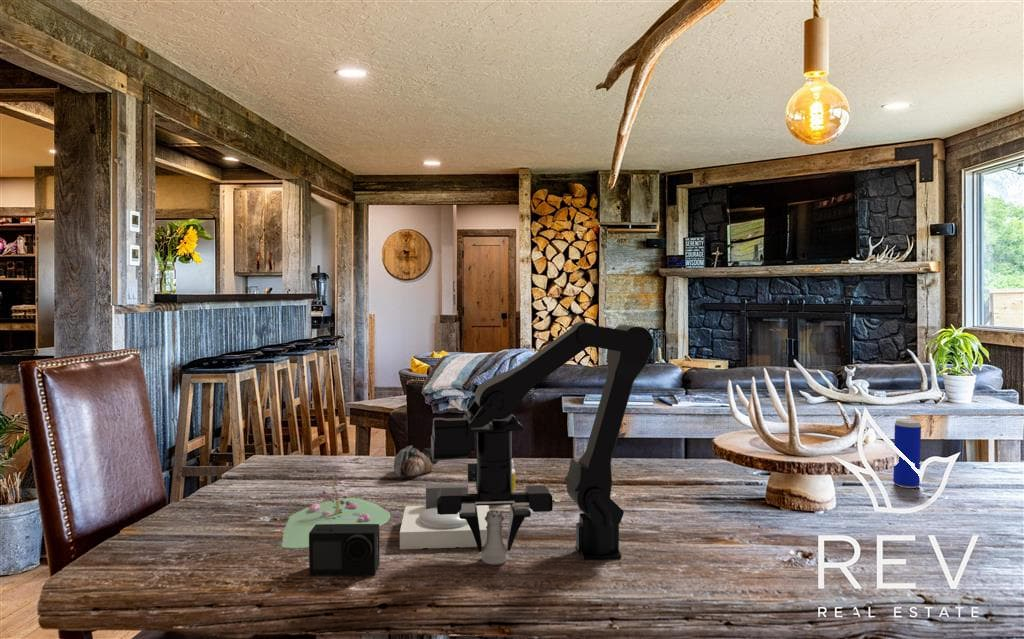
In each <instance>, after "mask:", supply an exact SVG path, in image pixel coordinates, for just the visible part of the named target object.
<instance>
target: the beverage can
mask: <svg viewBox="0 0 1024 639" xmlns="http://www.w3.org/2000/svg"><path fill="white" fill-rule="evenodd" d="M921 438H922V424H921V422H920V421H919V420H915V419H909V418H897V419H896V420H895V422H894V439H893V440H894V441H893V442H894V444H893V445H895V446H896V447H897V448H898V449H899V450H900V451H901V452H902V453H903V454H904V455H905V456H906V457H907V458H908V459H909V460H910V461H911V462H913V463H915V467H916V468H917V469H920V470H921V444H922V442H921V440H922V439H921ZM919 463H920V464H919ZM892 474H893V475H892V476H893V478H892V479H893V484H894V485H895V484H896V485H898V486H902V487H908V488H916V487H917V488H919V486H920V479H921V477H920V478H919V476H918V474H917V473H916V472H915V471H914V470H913V469H912V468H911V466H910V465H909V464H908V463H907V462H906V461H905V460H903V459H902V458H901V457H899V463H898V464H897V465H896V466H894V465H893V473H892ZM896 485H895V486H896ZM898 486H897V487H898ZM917 488H916V489H917Z"/></svg>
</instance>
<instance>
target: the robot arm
mask: <svg viewBox="0 0 1024 639" xmlns="http://www.w3.org/2000/svg"><path fill="white" fill-rule="evenodd" d="M654 345H655V340H654V338H653V335H652V334H651V332H650V331H649V330H648V329H646V328H644V327H643V326H636V325H629V324H621V325H618V326H616V327H614V328H612V327H606V326H600V325H595V324H593V323H591V322H586V321H577V322H575V323H573V324H572V325H571V326H570V328H569V329H567V330H566V331H565V332H563V333H562V334H560V335H559V336H558V337H556V338H555V339H554V340H552V341H551V342H549V343H548V344H547V345H545V346H544V347H542V348H541V349H540V350H538V351H537V352H536V353H534V354H533V355H531V356H530V357H529V358H527V359H526V360H525V361H523V362H522V363H520V364H519V365H518V366H516V367H514V368H511V369H509V370H507V371H504V372H500V373H498V374H497V375H495V376H492V377H491V378H488V379H486V380H484V381H482V382H481V383H480V384H479V385H478V386H477V388H476V389H475V394H474V400H473V402H472V403H471V405H470V406H469V407H468V409H467V410H466V412H465V413H464V414H463V417H456V418H455V417H454V418H453V417H452V418H451V417H450V418H445V417H434V418H432V434H431V435H430V448H431V452H432V460H433V461H438V460H439V461H453V460H454V461H456V460H459V461H460V460H468V458H469V457H470V456H472V453H474V452H475V443H476V463H467V484H468V483H470V484H471V483H475V488H476V489H475V490H476V493H468V494H461V488H441V489H440V490H439V491H438V496H437V514H440V515H445V514H457V513H458V512H459V518H460V519H466V521H467V523H468V525H469V527H470V528H471V530H472V533H473V535H474V538H475V541H476V544H477V547H476V548H477V549H478V552H479V553H481V552H482V549H483V547H482V543H481V535H480V528H479V521H478V513H477V506H479V505H489V506H507V505H510V506H509V518H508V527H507V528H508V529H507V538H506V549H507V552H510V551H511V549H512V548H513V544H514V541H515V539H516V537H517V534H518V531H519V529H520V528H521V526H522V524H523V522H524V520H525V519H526V518H530V517H531V515H532V513H531V511H532V512H534V513H542V512H543V513H545V512H547V513H548V512H549V513H550V512H552V511H554V510H553V508H554V506H553V502H554V500H553V495H552V493H551V490H550V488H548V486H547V485H545V484H543V485H525V488H524V490H525V492H520V491H519V492H515V493H512V460H513V459H512V456H513V454H512V450H513V449H512V445H513V444H512V439H513V435H512V434H513V432H520V431H521V432H522V431H524V430H525V427H524V426H523V424H521V422H519V421H518V420H517V418H516V416H515V414H512V412H513V411H514V410H515V409H516V408H517V407H518V406H520V404H521V403H522V402H523V401H524V399H525V398H526V396H527V395H528V394H529V392H530V391H531V390H532V389H533V388H535V386H536V385H537V384H539V383H540V382H542V381H544V380H545V379H546V378H547V377H548V376H550V375H552V374H553V373H554V372H556V371H557V370H559V369H560V368H561V367H562V366H564V365H565V364H566V363H568V362H569V361H571V360H572V359H573V358H575V357H576V356H577V355H579V354H580V353H581V352H583V351H585V349H587V348H589V347H594V348H598V349H599V348H600V349H603V350H607V351H606V361H607V362H606V363H607V375H606V379H605V381H604V386H603V389H602V393H601V395H600V396H601V397H600V400H599V403H598V407H597V409H596V410H597V411H596V415H595V416H594V420H593V421H594V422H593V424H592V429H591V431H590V433H589V434H590V436H589V438H588V442H587V445H586V449H585V451H584V453H583V455H582V456H581V457H580V458H579V460H577V459H574V458H571V459H570V461H569V468H568V472H567V475H566V476H565V477H564V478H563V479H564V482H566V492H567V495H568V496H569V498H570V499H571V500H572V501H573V502H574V503H575V505H577V507H578V509H579V510H580V511H581V513H579V521H578V522H576V524H575V546H576V548H577V550H578V552H580V554H581V556H582V558H583V559H585V560H589V559H590V560H594V559H619V558H622V555H623V554H622V553H621V551H620V524H621V522H622V519H623V517H624V514H625V512H624V510H623V509H622V508H621V507H620V506H619V505H618V504H617V503H616V502H615V501H614V500H613V499H612V498H611V493H612V485H613V474H612V458H613V455H614V452H615V448H616V446H617V442H618V438H619V434H620V431H621V427H622V424H623V421H624V417H625V413H626V411H627V406H628V403H629V399H630V397H631V392H632V389H633V386H634V383H635V380H636V379H637V377H639V375H640V374H641V372H642V371H643V370H644V369H645V367H646V366H647V363H648V361H649V359H650V358H651V355H652V353H653V350H654V347H655V346H654ZM475 433H476V442H475ZM439 461H438V462H439Z"/></svg>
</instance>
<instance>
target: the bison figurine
mask: <svg viewBox="0 0 1024 639" xmlns="http://www.w3.org/2000/svg"><path fill="white" fill-rule="evenodd" d="M439 462H440V460H438V461H433V460H432V452H431V447H429V448H428V447H427V448H425V447H424V448H423V451H422V452H421V451H420V450H419V449H418V448H415V447H413V445H409V446H405V448H402V449H400V450H399V452H398V453H397V454H396V455H395V456H394V461H393V469H394V474H395V475H396V476H397V477H403V476H407V477H413V476H419V475H424V474H427V473H430V472H431V471H432V470H433V469H434V466H435V465H436V464H438V463H439Z"/></svg>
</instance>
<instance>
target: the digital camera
mask: <svg viewBox="0 0 1024 639" xmlns="http://www.w3.org/2000/svg"><path fill="white" fill-rule="evenodd" d="M308 550H309V551H308V560H309V561H308V562H309V564H308V565H309V568H308V569H309V576H310V577H357V576H358V577H364V576H365V577H366V576H368V577H370V576H376V574H377V572H378V569H379V566H380V565H379V564H380V526H379V524H316V525H315V526H314V527H313V529H312V530H311V531H310V532H309V547H308ZM376 571H377V572H376Z"/></svg>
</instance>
